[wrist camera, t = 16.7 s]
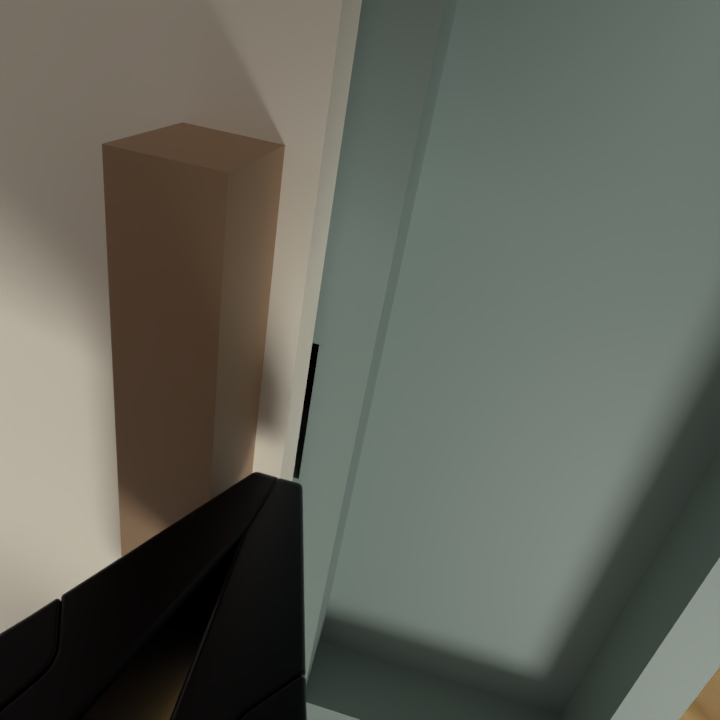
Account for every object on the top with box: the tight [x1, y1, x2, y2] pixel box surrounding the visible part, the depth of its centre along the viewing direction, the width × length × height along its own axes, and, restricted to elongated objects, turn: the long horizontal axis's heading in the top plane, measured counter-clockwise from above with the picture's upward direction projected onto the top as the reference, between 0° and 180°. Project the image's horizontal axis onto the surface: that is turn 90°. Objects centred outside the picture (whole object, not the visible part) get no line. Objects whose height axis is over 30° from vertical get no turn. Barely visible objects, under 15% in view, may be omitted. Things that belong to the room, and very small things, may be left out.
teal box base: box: [292, 0, 720, 720], centre depth 12 cm, size 13×20×2 cm, turn 170°
